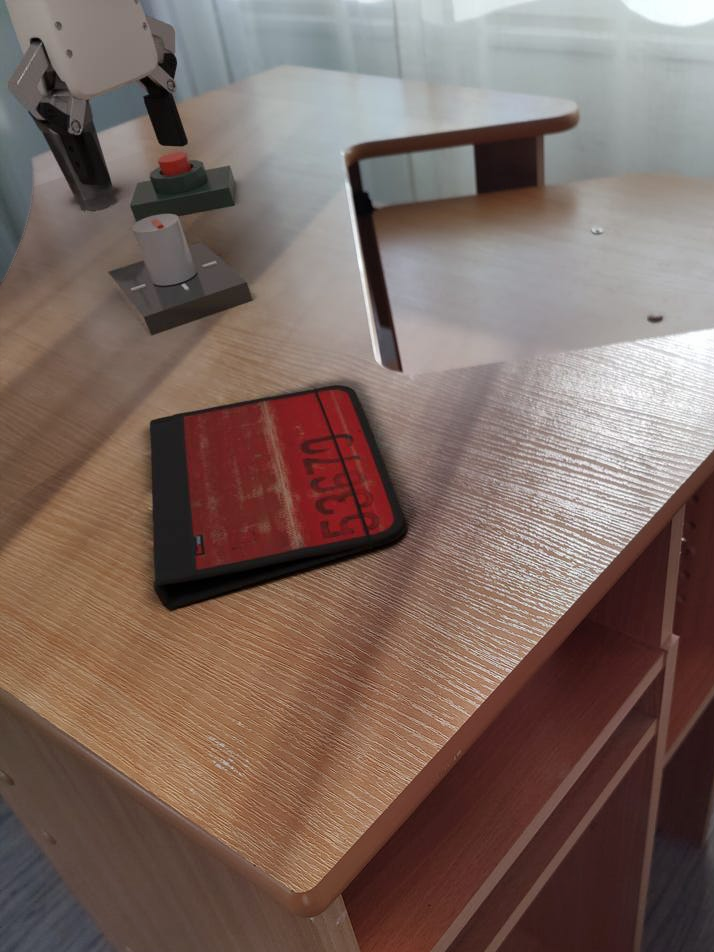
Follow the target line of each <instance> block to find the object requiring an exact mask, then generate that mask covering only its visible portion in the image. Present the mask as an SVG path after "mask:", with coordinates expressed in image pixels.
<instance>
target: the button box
mask: <svg viewBox="0 0 714 952" xmlns="http://www.w3.org/2000/svg"><path fill="white" fill-rule="evenodd" d="M189 161H190V164H191V168H192V169H190V170H189V171H186V172H183V173H180V174H174V175H162V172H161V169H160V166H158V167H157V168H155V169H154V170H152V171H150V174H149V179H150V180H146V181H140V182H137V183H136V185H135V189H134V192H133V195H132V199H131V202H130V206H129V207H130V210H131V212H132V214H133V218H134V219H135V223H136V222H138V221H140V220H142V219H144V218H147V217H150V216H154V215H159V214H175V215H177V216H178V217H182V216H188V215H192V214H197V213H203V212H210V211H214V210H219V209H225V208H229V207H235V204H236V203H235V201H236V180H235V178H234V173H233V171H232V167H231V165H225V166H220V167H215V168H209V169H206V168H205V164H204V162H203V161H200V160H197V159H189Z"/></svg>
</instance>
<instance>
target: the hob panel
mask: <svg viewBox="0 0 714 952" xmlns="http://www.w3.org/2000/svg"><path fill="white" fill-rule="evenodd" d="M188 246H189V249H190V252H191V255H192V258H193V261H194V263H195V266H196V269H197V273H196V274H195V276H193V277H192V278H190V279H189V280H187V281H184V282H182V283H178V284H174V285H168V286H159V285H155V284H153V283H152V281H151V278H150V276H149V273H148V270H147V268H146V265H145V263H144V260H140V261H137V262H134V263H131V264H128V265H125V266H122V267H119V268H116V269H112V270H109V271H107V274H108V277H109V278H110V282H111V283H112V286H113V288H114V291H116V293H117V294H118V295H119V296H120V298H121V299H122V300H123V302H124V303H125V304H126V305H127V307H128V308H129V310H130V311H131V313H133V314H134V316H135V317H136V319H137V320H138V321H139V322H140V324H141V325H142V326H143V327H144V328H145V330H146V331H147V333H148V334H149V335H150V336H151V337H152V336H155V335H158V334H160V333H163V332H166V331H169V330H172V329H175V328H178V327H180V326H183V325H186V324H190V323H192V322H196V321H198V320H202V319H204V318H206V317H210V316H213V315H215V314H219V313H222V312H224V311H227V310H230V309H233V308H236V307H239V306H243V305H245V304H247V303H250V302H253V301H254V300H253V297H252V294H251V291H250V287H249V284H248V282H247V280H245V278H243V277H242V276H241V275H240V274H239V273H238V272H236V271H235V270H234V269H233V268H231V266H229V265H228V264H227V263H226V262H225V261H224V260H223V259H222V258H221V257H219V256H218V255H217V254H216V253H215V252H214V251H213V250H211V249H210V248H209V247H208V246H207V245H206V244H205V243H204V242H202V241H200V242H198V243H194V244H191V245H188Z"/></svg>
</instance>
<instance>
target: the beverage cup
mask: <svg viewBox="0 0 714 952" xmlns="http://www.w3.org/2000/svg"><path fill="white" fill-rule="evenodd" d="M39 93H40V92H39ZM43 99H44V100H45V101H46V102H48V103H50V99H46V98H44V97H43ZM67 108H68V107H67ZM27 112H28V113H27V114H29V115H30V113H29V111H28V110H27ZM93 118H94V116H93V111H92V106H91V103H90V99H89V100H87V101H86V108H85V116H84V124H83V131H90V132H91V134H92V135H93V137H94V140H95V142H96V145H97V147H98V150H99V152H100V155H101V157H102V160H103V162H104V165H105V167H106V170H107V172H108V175H109V177H110V181H109V183H108V184H106V185H104V186H101V185H85V184H82V183H81V182H80V180H79V178H78V176H77V174H76V173H75V171H74V169H73V167H72V164H71V162H70V160H69V157H68V155H67V153H66V150H65V148H64V145H63V143H62V141H61V138H60V136H59V135H57V134H53V133H51V131H50V130H49V128H48V127H46V126H44V125H43V124H41V123H40V122H38V121H36V120H35V119H33V118H32V121H33V122H34V124H35V125H36V127H37V128H38V130H39V131H40V132H41V134H42V135H43V137H44V139H45V141H46V143H47V145H48V147H49V149H50V152H51V153H52V155H53V157H54V159H55V161H56V163H57V165H58V167H59V169H60V172H61V173H62V175H63V177H64V179H65V181H66V182H67V185H68V187H69V188H70V191H71V193H72V195H73V197H74V198H75V199H76V201H77V203H78V205H79V206H80V208H81V211H83V210H85V211H86V210H87V211H94V212H97V211H96V210H99V211H102V210H101V209H103V210H106V209H109V208H110V207H109V206H111V205H113V204H114V203H115V202H116V201H117V198H116V194H115V191H114V185H113V182H112V180H111V175H110V173H109V169H108V165H107V162H106V160H105V156H104V153H103V149H102V146H101V142H100V140H99V136H98V132H97V130H96V127H95V123H94V119H93ZM116 203H117V202H116ZM116 203H115V204H116ZM115 204H114V205H115ZM114 205H113V206H114ZM108 207H109V208H108ZM111 207H112V206H111ZM105 208H106V209H105ZM85 211H84V212H85Z"/></svg>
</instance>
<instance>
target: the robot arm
mask: <svg viewBox="0 0 714 952" xmlns="http://www.w3.org/2000/svg"><path fill="white" fill-rule="evenodd" d="M4 2H5V6H6V8H7V13H8V15H9V18H10V20H11V25H12V27H13V30H14V32H15V35H16V39H17V40H18V44H19V47H20V50H21V52H22V55H23V57H22V59H20V62H19V64H18V65H17V67H16V69H15V70H14V72H13V74H12V75H11V77H10V78H9V80H8V82H7V88H8V91H9V93H10V94H11V95H12V96H13V97H14V98H15V99H16V100H17V101H18V102H19V104H21V105H22V107H24V109H25V110H27V112H28V111H29V113H30V114H29V113H28V114H29V116H30V117H31V118H32V120H33V119H35V120H36V121H38V122H40V123H41V124H43V125H44V126H46V127H48V128H49V130H50V131H51V133H53V134H57V135H59V136H60V138H61V141H62V143H63V145H64V148H65V150H66V153H67V155H68V157H69V160H70V162H71V164H72V167H73V169H74V171H75V173H76V174H77V176H78V178H79V180H80V182H81V183H82V184H85V185H101V186H104V185H106V184H108V183H109V181H110V179H111V176H110V177H109V175H110V174H109V175H108V172H109V171H108V172H107V170H106V167H105V165H104V162H103V160H102V157H101V155H100V152H99V150H98V147H97V145H96V142H95V140H94V137H93V135H92V134H91V132H90V131H83V124H84V116H85V108H86V101H87V100H89V101H90V100H92V99H93V100H94V99H96V98H98V97H101V96H103V95H106V94H108V93H111V92H113V91H115V90H118V89H121V88H123V87H125V86H127V85H130V84H133V83H136V84H138V86H140V87H141V88H142V89H143V90H144V91H146V93H147V94H146V95H143V96H142V98H143V103H144V106H145V109H146V112H147V114H148V117H149V121H150V123H151V126H152V128H153V131H154V134H155V137H156V140H157V142H158V144H159V145H160V146H162V147H185V146H187V145H188V144H189V140H188V137H187V134H186V131H185V129H184V125H183V122H182V118H181V116H180V113H179V110H178V107H177V103H176V100H175V98H174V95H173V94H175V93H176V91H177V83H176V80H175V76H176V72H177V67H178V59H177V56H176V55H175V54H176V31H175V28H174V26H173V25H171V24H169V23H167V22H164V21H162V20H160V19H158V18H155V17H152V16H150V15H147V14H146V13H145V11H144V8H143V6H142V3H141V1H140V0H4ZM39 92H40V93H39ZM43 97H44V98H46V99H50V103H48V102H46V101H45V100H44V99H43ZM67 107H68V108H67Z"/></svg>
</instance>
